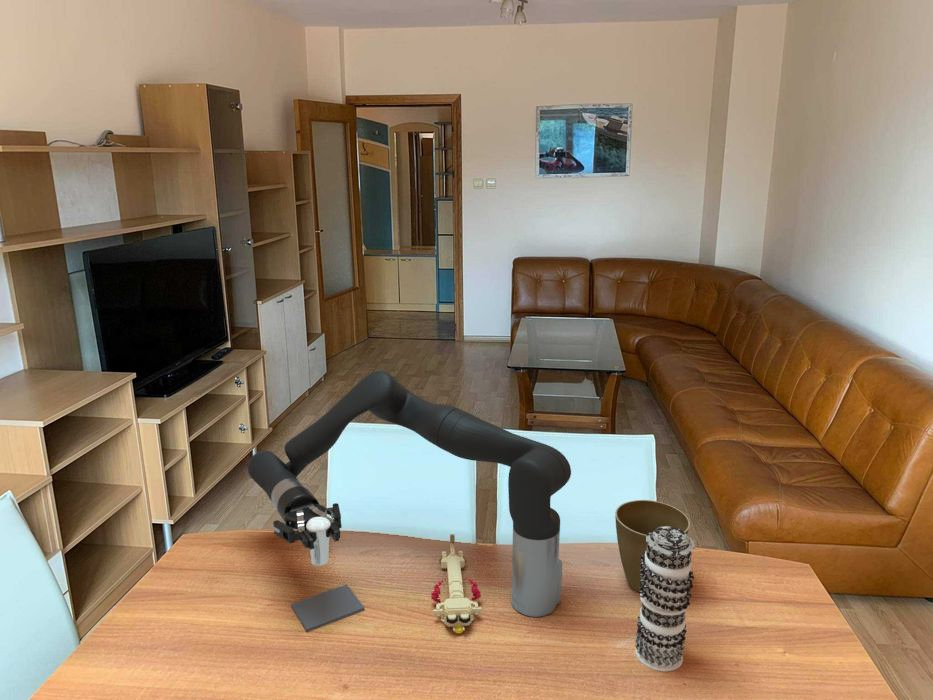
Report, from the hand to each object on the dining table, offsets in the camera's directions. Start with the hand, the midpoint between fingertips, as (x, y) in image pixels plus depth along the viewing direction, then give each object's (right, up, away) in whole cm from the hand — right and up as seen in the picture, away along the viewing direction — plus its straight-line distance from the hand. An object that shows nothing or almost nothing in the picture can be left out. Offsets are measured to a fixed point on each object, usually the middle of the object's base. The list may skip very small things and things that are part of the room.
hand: (324, 540), depth 128 cm
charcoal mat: (-1, -16, +9) cm, 18 cm away
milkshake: (-1, -5, +4) cm, 7 cm away
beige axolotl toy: (+24, -15, +12) cm, 31 cm away
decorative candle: (+62, -20, -4) cm, 65 cm away
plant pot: (+65, -14, +16) cm, 68 cm away
